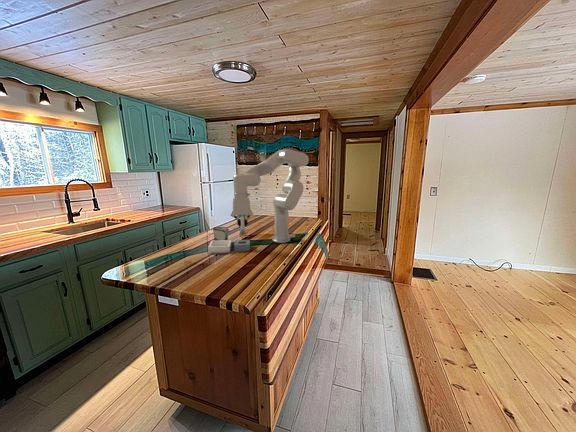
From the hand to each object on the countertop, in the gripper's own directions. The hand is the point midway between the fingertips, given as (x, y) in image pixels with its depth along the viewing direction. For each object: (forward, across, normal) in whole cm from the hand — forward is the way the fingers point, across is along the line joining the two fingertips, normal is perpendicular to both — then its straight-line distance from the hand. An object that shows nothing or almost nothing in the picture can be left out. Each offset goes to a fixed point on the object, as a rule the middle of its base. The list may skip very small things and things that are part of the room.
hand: (242, 225), depth 140 cm
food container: (+15, +14, -14) cm, 24 cm away
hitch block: (+14, +1, 0) cm, 14 cm away
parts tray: (+14, +14, 0) cm, 20 cm away
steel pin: (+5, 0, 0) cm, 5 cm away
